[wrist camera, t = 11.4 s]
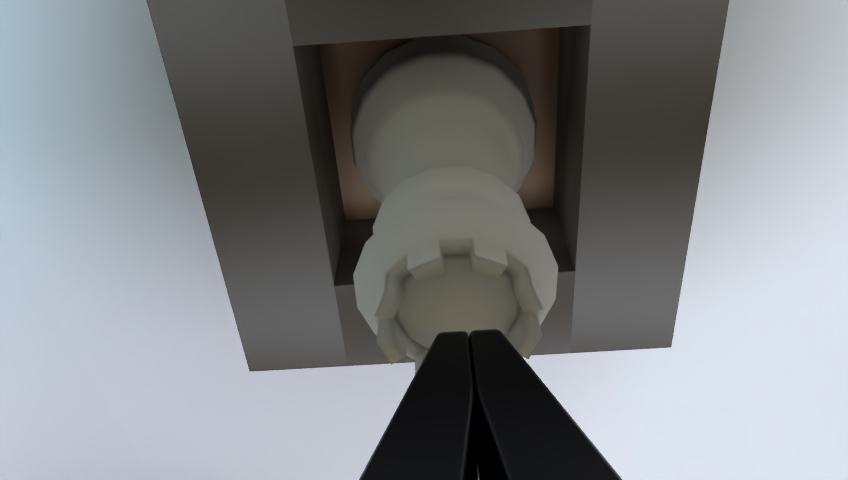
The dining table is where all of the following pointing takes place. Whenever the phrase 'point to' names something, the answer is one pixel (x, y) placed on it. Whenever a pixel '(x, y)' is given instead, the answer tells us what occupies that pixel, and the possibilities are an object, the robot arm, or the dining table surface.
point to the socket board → (357, 209)
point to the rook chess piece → (448, 198)
